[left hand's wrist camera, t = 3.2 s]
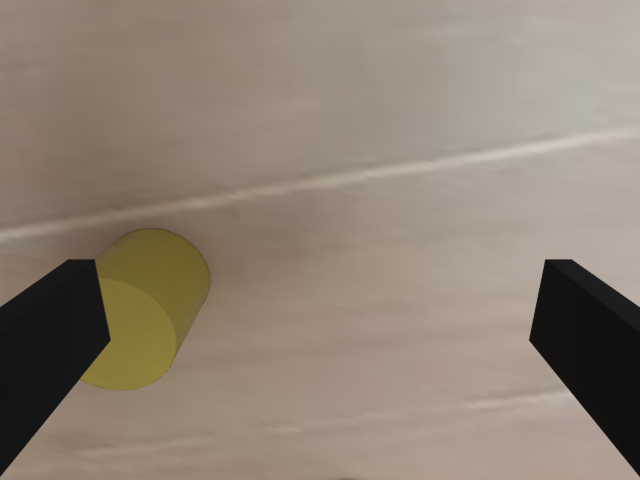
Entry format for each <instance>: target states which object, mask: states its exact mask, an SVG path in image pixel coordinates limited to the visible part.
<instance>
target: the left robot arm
mask: <svg viewBox="0 0 640 480" xmlns="http://www.w3.org/2000/svg"><path fill="white" fill-rule="evenodd" d="M110 341H111V338H110V333H109V328H108V323H107V318H106V313H105V308H104V303H103V298H102V293H101V288H100V283H99V278H98V274H97V269H96V264H95V259H68V260H67V261H65V262H64V263H63V264H61V265H60V266H58V267H57V268H55V269H54V270H53V271H51V272H50V273H48V274H47V275H45V276H44V277H43V278H41V279H40V280H38V281H37V282H35V283H34V284H33V285H31V286H30V287H28V288H27V289H26V290H24V291H23V292H21V293H20V294H18V295H17V296H16V297H14V298H13V299H11V300H10V301H8V302H7V303H6V304H4V305H3V306H1V307H0V476H1V475H2V474H3V473H4V472H5V470H6V469H7V468H8V467H9V465H10V464H11V463H12V462H13V460H14V459H15V458H16V457H17V456H18V454H19V453H20V452H21V451H22V449H23V448H24V447H25V446H26V444H27V443H28V442H29V441H30V440H31V438H32V437H33V436H34V435H35V433H36V432H37V431H38V430H39V428H40V427H41V426H42V425H43V423H44V422H45V421H46V420H47V419H48V417H49V416H50V415H51V414H52V412H53V411H54V410H55V409H56V407H57V406H58V405H59V404H60V403H61V401H62V400H63V399H64V398H65V396H66V395H67V394H68V393H69V391H70V390H71V389H72V388H73V387H74V385H75V384H76V383H77V382H78V380H79V379H80V378H81V377H82V375H83V374H84V373H85V372H86V371H87V369H88V368H89V367H90V366H91V364H92V363H93V362H94V361H95V359H96V358H97V357H98V356H99V354H100V353H101V352H102V351H103V350H104V348H105V347H106V346H107V345H108V343H109V342H110ZM529 341H530V342H531V343H532V345H533V346H534V347H535V348H536V350H537V351H538V352H539V353H540V354H541V356H542V357H543V358H544V359H545V361H546V362H547V363H548V364H549V366H550V367H551V368H552V369H553V371H554V372H555V373H556V374H557V375H558V377H559V378H560V379H561V380H562V382H563V383H564V384H565V385H566V387H567V388H568V389H569V390H570V391H571V393H572V394H573V395H574V396H575V398H576V399H577V400H578V401H579V403H580V404H581V405H582V406H583V407H584V409H585V410H586V411H587V412H588V414H589V415H590V416H591V417H592V419H593V420H594V421H595V422H596V423H597V425H598V426H599V427H600V428H601V430H602V431H603V432H604V433H605V435H606V436H607V437H608V438H609V440H610V441H611V442H612V443H613V444H614V446H615V447H616V448H617V449H618V451H619V452H620V453H621V454H622V456H623V457H624V458H625V459H626V460H627V462H628V463H629V464H630V465H631V467H632V468H633V469H634V470H635V472H636V473H637V474H638V475H639V476H640V307H639V306H637V305H636V304H634V303H633V302H632V301H630V300H629V299H627V298H626V297H624V296H623V295H622V294H620V293H619V292H617V291H616V290H614V289H613V288H612V287H610V286H609V285H607V284H606V283H605V282H603V281H602V280H600V279H599V278H597V277H596V276H595V275H593V274H592V273H590V272H589V271H587V270H586V269H585V268H583V267H582V266H580V265H579V264H577V263H576V262H575V261H573V260H572V259H545V264H544V269H543V273H542V278H541V283H540V288H539V293H538V298H537V303H536V308H535V313H534V318H533V323H532V328H531V333H530V338H529Z"/></svg>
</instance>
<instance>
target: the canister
mask: <svg viewBox="0 0 640 480" xmlns="http://www.w3.org/2000/svg"><path fill="white" fill-rule="evenodd" d="M95 264H96V269H97V274H98V278H99V283H100V288H101V293H102V298H103V303H104V308H105V313H106V318H107V323H108V328H109V333H110V338H111V341H110V342H109V343H108V345H107V346H106V347H105V348H104V350H103V351H102V352H101V353H100V354H99V356H98V357H97V358H96V359H95V361H94V362H93V363H92V364H91V366H90V367H89V368H88V369H87V371H86V372H85V373H84V374H83V375H82V377H81V378H80V380H82V381H84V382H86V383H89V384H91V385H94V386H97V387H101V388H105V389H110V390H131V389H137V388H141V387H144V386H146V385H149V384H151V383H153V382H155V381H156V380H158V379H159V378H160V377H162V376H163V375H164V374H165V373H166V372H167V370H168V369H169V367H170V366H171V364H172V362H173V360H174V359H175V357H176V355H177V353H178V351H179V349H180V347H181V345H182V343H183V341H184V339H185V338H186V336H187V334H188V332H189V330H190V328H191V326H192V324H193V322H194V320H195V318H196V317H197V315H198V313H199V311H200V309H201V307H202V305H203V303H204V301H205V299H206V297H207V295H208V292H209V286H210V277H209V271H208V268H207V265H206V263H205V261H204V259H203V257H202V256H201V254H200V253H199V252H198V250H197V249H196V248H195V247H194V246H193V245H192V244H190V243H189V242H188V241H187V240H185V239H184V238H182V237H180V236H178V235H176V234H174V233H171V232H168V231H164V230H160V229H143V230H137V231H134V232H131V233H129V234H127V235H125V236H124V237H122V238H121V239H120V240H118V241H117V242H116V243H115V244H113V245H112V246H111V247H110V248H109V249H107V250H106V251H105V252H104V253H102V254H101V255H100V256H99V257H97V258H96V259H95Z"/></svg>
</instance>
